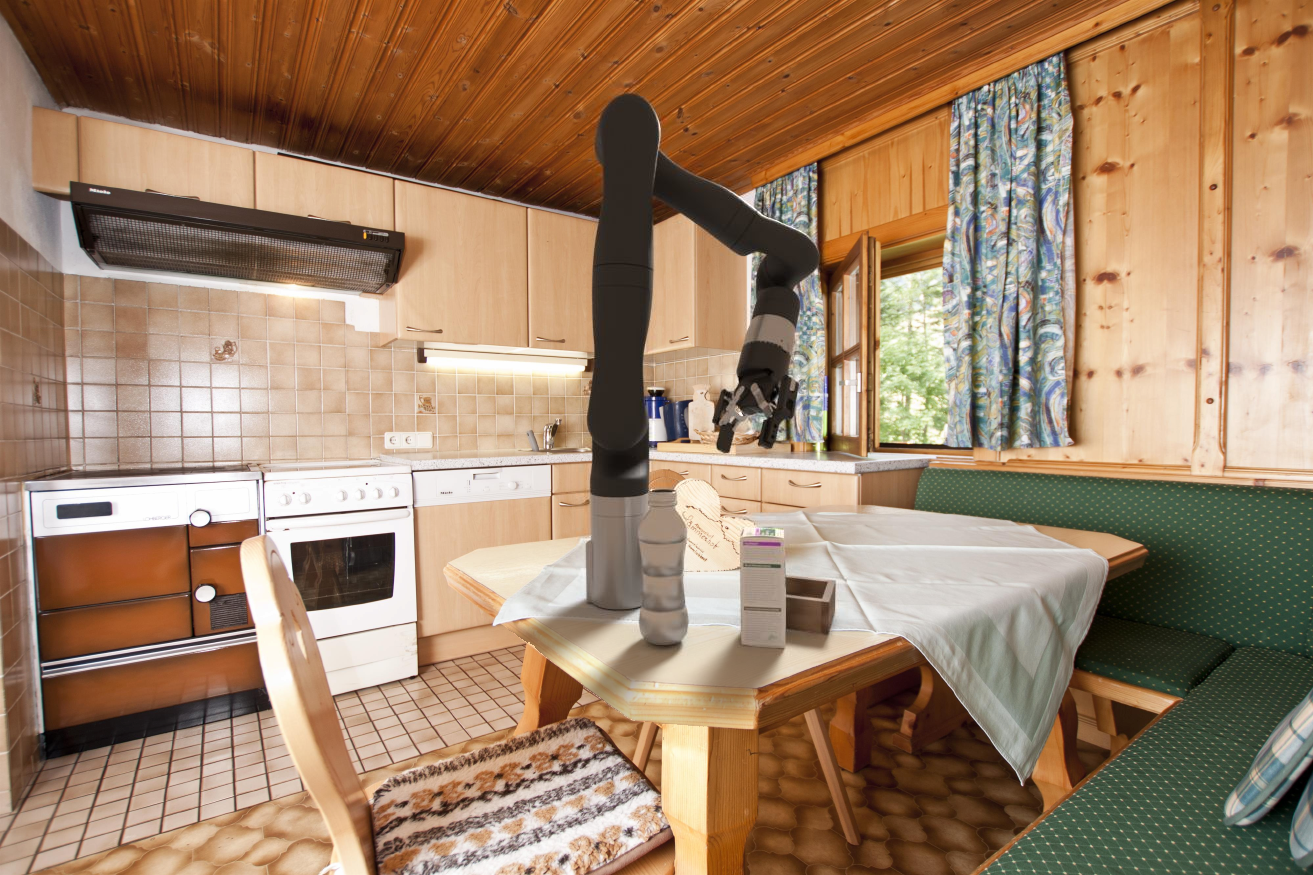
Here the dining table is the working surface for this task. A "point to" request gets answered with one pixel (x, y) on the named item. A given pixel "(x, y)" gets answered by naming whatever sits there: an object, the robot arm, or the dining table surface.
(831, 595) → the walnut sleeve
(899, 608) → the dining table surface
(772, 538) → the syrup box
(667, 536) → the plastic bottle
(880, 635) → the dining table surface
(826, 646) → the dining table surface
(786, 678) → the dining table surface
